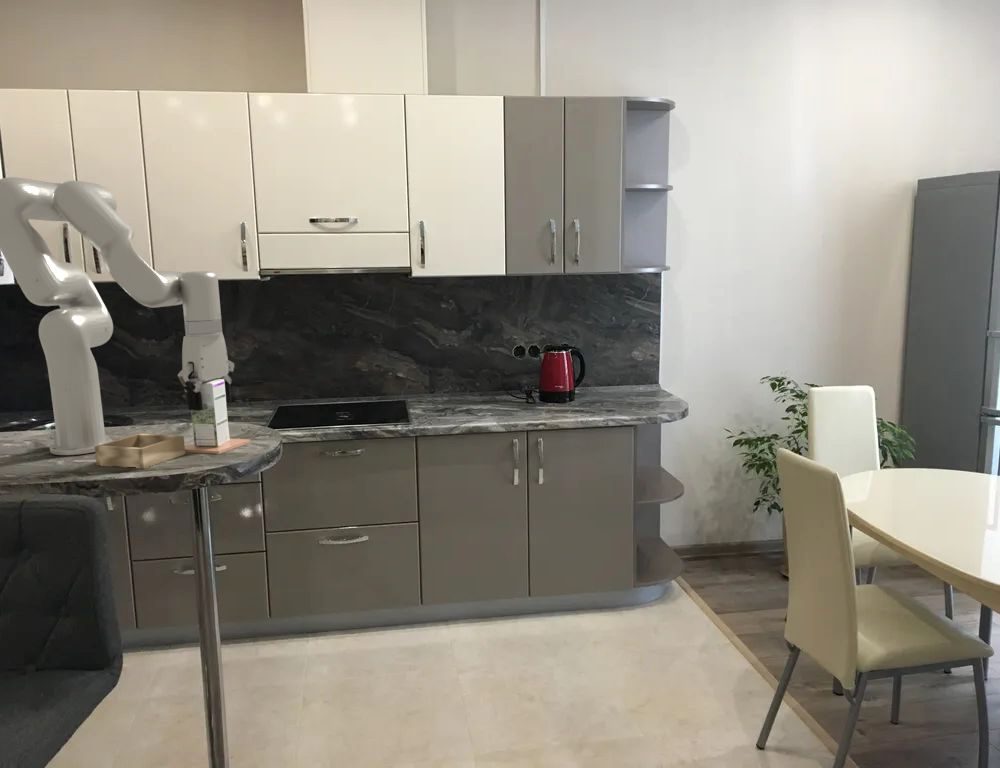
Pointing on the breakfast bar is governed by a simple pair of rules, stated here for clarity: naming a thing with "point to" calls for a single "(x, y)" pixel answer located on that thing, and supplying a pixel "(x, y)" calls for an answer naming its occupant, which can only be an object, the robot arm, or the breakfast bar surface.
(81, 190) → the robot arm
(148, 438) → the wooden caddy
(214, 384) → the syrup box
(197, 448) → the terracotta tile
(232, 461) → the breakfast bar surface
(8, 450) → the breakfast bar surface
